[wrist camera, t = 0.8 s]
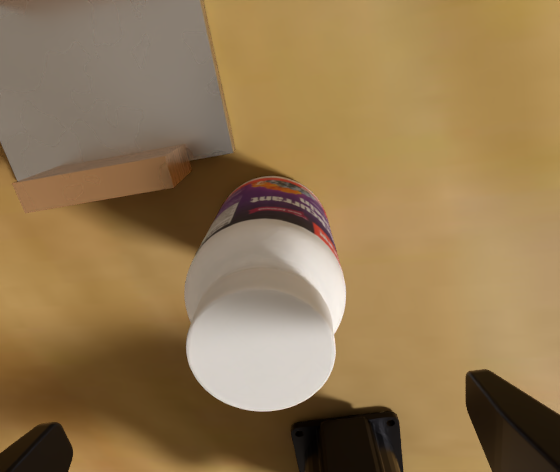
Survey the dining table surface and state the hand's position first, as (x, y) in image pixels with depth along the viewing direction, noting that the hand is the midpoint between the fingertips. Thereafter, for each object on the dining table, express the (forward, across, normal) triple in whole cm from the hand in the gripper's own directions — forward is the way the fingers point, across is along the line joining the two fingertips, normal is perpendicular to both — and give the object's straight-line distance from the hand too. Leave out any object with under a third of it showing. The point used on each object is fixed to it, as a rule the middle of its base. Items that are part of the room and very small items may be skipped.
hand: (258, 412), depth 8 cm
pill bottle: (+12, 0, 0) cm, 12 cm away
